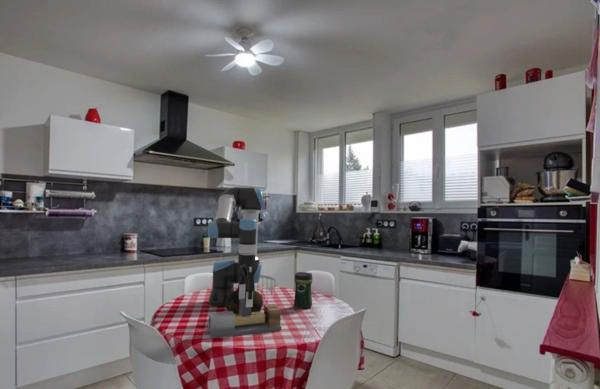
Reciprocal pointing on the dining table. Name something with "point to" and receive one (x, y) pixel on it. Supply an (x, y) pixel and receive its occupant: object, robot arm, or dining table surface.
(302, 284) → the coffee jar
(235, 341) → the dining table surface
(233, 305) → the glass bottle
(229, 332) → the base board
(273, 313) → the walnut socket
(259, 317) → the tan slab
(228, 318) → the steel sleeve
